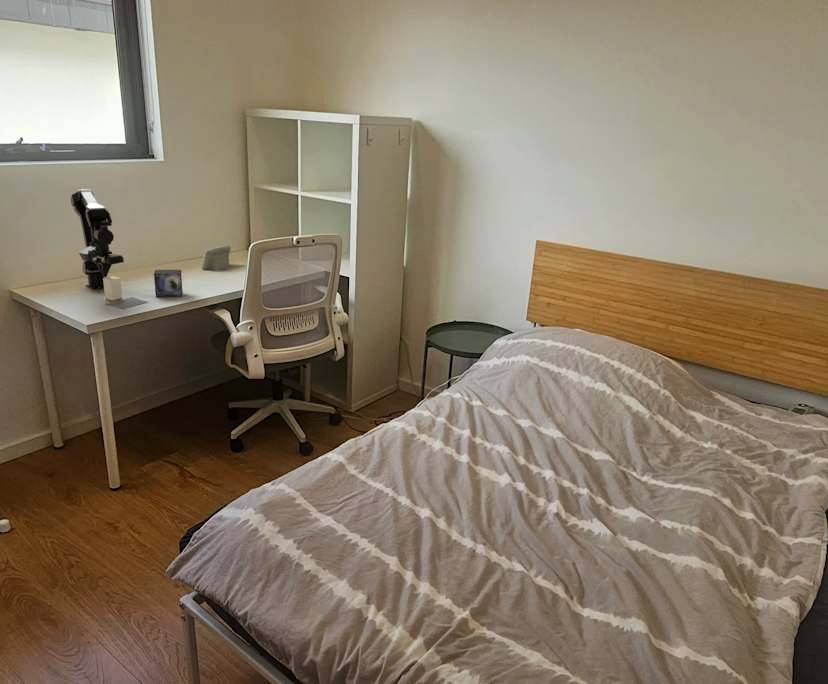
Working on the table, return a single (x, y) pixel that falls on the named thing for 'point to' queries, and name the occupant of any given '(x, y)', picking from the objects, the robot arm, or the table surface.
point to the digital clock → (216, 258)
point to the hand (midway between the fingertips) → (104, 277)
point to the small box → (168, 283)
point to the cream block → (112, 288)
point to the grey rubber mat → (126, 303)
